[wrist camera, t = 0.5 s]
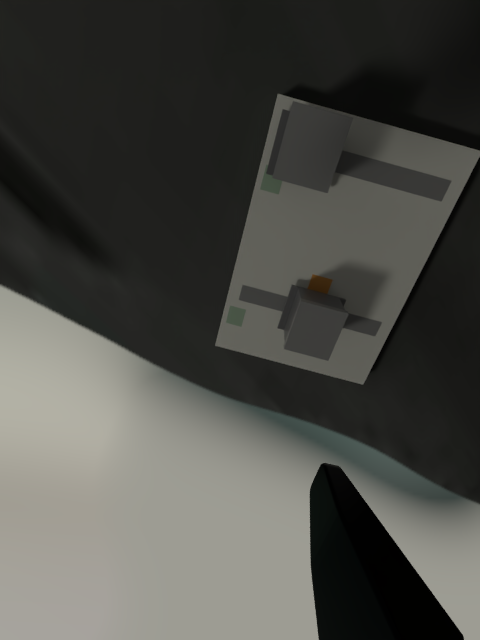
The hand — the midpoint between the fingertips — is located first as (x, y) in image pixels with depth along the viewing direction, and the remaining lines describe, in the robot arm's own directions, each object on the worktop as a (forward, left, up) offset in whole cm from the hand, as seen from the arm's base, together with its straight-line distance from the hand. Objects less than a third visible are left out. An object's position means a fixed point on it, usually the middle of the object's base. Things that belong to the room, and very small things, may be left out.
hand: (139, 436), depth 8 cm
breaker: (-3, -7, -12) cm, 15 cm away
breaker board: (-6, -2, -14) cm, 15 cm away
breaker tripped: (-6, +1, -12) cm, 14 cm away
